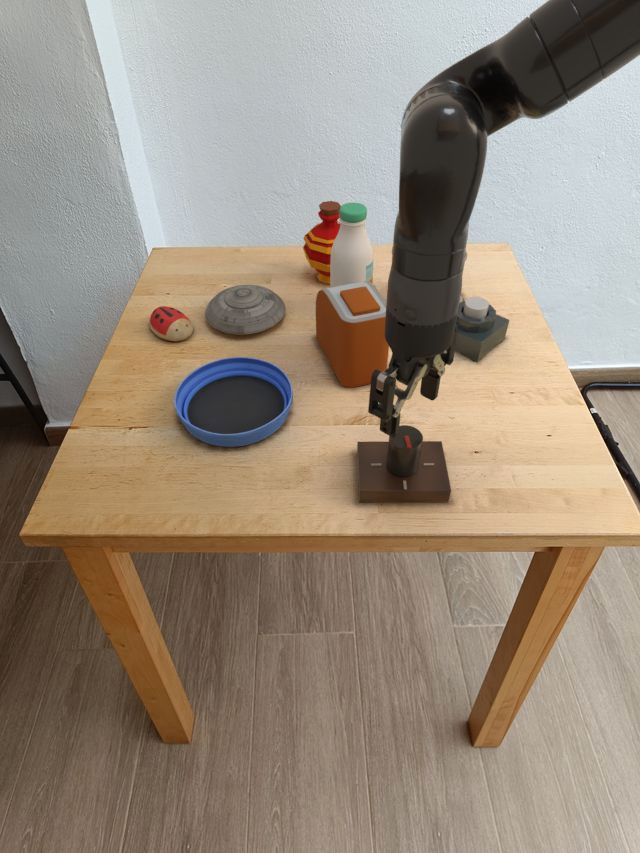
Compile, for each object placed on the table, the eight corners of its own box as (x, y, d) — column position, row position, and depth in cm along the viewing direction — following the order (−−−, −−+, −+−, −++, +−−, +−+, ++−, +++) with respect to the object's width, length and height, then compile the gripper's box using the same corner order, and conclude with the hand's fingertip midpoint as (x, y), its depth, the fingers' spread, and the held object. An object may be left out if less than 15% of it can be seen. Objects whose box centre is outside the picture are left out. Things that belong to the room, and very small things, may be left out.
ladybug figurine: (173, 349, 103) (169, 332, 100) (140, 327, 108) (136, 311, 105) (202, 332, 106) (199, 315, 104) (169, 311, 111) (166, 295, 109)
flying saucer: (295, 300, 113) (294, 275, 109) (272, 346, 103) (269, 320, 99) (223, 290, 116) (219, 266, 112) (193, 334, 106) (188, 308, 102)
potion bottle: (356, 264, 122) (358, 194, 112) (353, 291, 115) (355, 219, 105) (306, 263, 123) (304, 193, 113) (300, 289, 116) (297, 217, 105)
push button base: (504, 338, 104) (512, 310, 99) (477, 362, 99) (483, 333, 95) (462, 319, 108) (467, 290, 104) (433, 340, 103) (438, 312, 99)
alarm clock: (391, 379, 96) (398, 309, 87) (343, 390, 94) (344, 320, 85) (360, 329, 106) (363, 262, 97) (315, 338, 104) (314, 270, 95)
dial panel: (439, 452, 84) (441, 440, 83) (448, 502, 78) (451, 489, 76) (356, 453, 85) (357, 440, 83) (359, 502, 78) (360, 490, 76)
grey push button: (491, 312, 100) (493, 302, 98) (478, 322, 98) (480, 312, 96) (471, 303, 102) (473, 293, 100) (458, 313, 100) (460, 303, 98)
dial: (383, 454, 81) (386, 424, 77) (415, 451, 81) (419, 422, 77) (389, 478, 78) (392, 449, 74) (421, 475, 78) (426, 446, 74)
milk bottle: (355, 326, 107) (359, 222, 93) (322, 311, 110) (320, 209, 96) (378, 306, 111) (385, 205, 97) (345, 293, 115) (347, 193, 100)
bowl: (249, 468, 83) (246, 452, 80) (154, 423, 90) (149, 406, 87) (315, 395, 94) (314, 378, 91) (226, 360, 100) (223, 343, 98)
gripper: (429, 264, 67) (416, 374, 78) (352, 319, 59) (349, 432, 70) (488, 286, 63) (465, 397, 74) (413, 347, 55) (400, 461, 67)
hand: (409, 414), depth 72 cm, fingers open, 8 cm apart
